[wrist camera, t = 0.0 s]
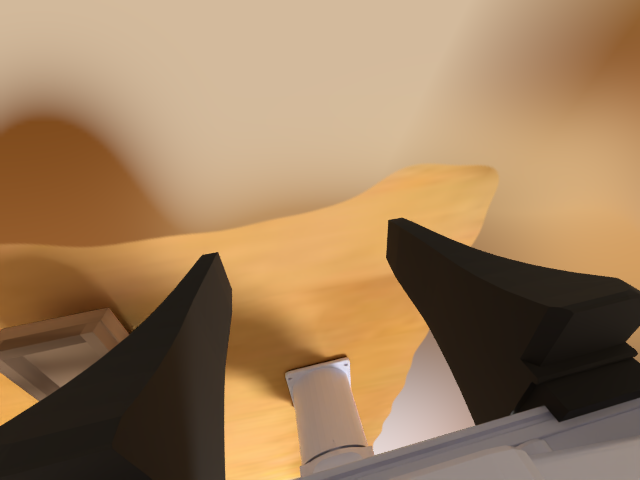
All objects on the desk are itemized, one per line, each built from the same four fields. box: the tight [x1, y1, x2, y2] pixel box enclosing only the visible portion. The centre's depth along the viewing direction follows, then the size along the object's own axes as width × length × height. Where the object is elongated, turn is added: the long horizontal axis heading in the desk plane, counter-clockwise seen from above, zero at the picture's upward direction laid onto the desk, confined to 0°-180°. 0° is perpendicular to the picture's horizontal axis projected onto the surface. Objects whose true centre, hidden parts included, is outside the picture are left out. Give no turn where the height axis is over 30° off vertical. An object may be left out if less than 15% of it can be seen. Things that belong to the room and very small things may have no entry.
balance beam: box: [0, 307, 129, 401], centre depth 26 cm, size 24×11×5 cm, turn 5°
